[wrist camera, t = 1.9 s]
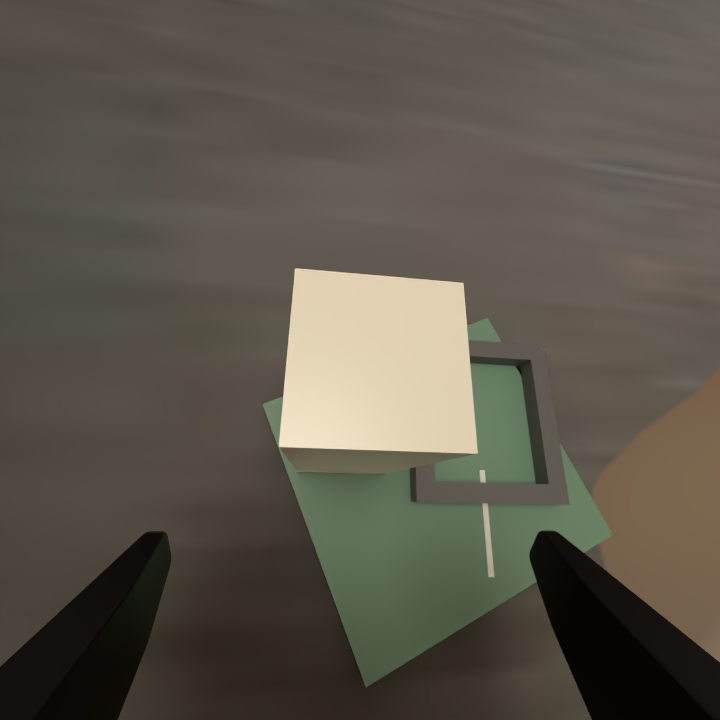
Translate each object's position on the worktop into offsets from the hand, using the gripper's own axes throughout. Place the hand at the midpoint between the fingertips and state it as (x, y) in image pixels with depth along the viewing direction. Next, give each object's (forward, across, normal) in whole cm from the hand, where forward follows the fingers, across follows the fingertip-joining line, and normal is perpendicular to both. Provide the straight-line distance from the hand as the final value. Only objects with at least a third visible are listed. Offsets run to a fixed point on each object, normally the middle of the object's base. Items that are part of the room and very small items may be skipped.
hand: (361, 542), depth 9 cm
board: (+10, -6, +6) cm, 13 cm away
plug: (+10, 0, +4) cm, 11 cm away
